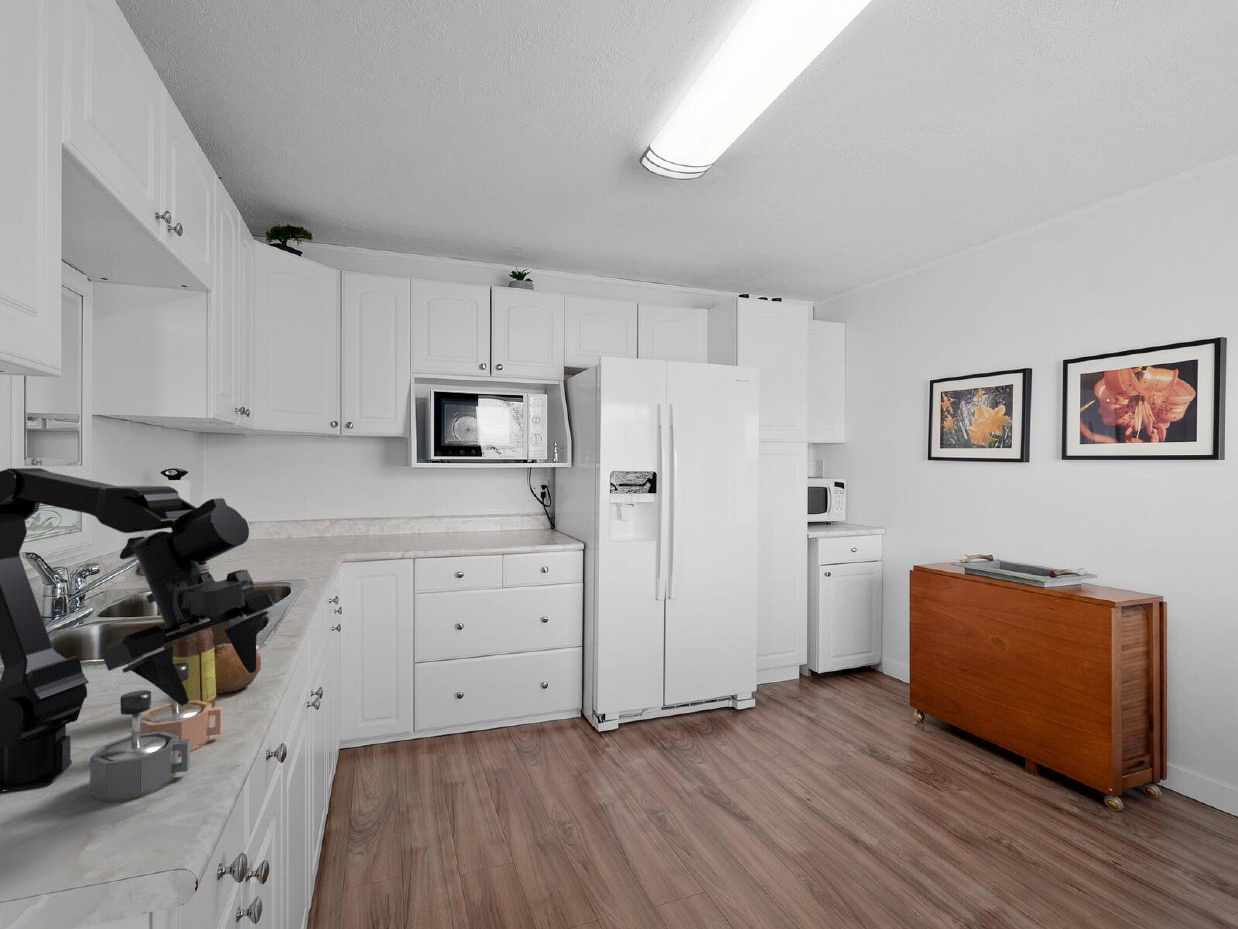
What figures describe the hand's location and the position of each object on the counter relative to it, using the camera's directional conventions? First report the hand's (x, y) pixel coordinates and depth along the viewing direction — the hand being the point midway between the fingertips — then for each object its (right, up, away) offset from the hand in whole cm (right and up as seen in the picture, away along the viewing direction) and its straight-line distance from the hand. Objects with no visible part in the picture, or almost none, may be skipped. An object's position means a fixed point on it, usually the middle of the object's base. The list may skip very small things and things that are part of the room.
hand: (221, 687), depth 80 cm
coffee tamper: (-13, -9, +2) cm, 16 cm away
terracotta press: (-16, -14, +13) cm, 25 cm away
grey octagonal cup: (-13, -14, +2) cm, 19 cm away
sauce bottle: (-22, -14, +26) cm, 37 cm away
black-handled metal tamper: (-15, -9, +13) cm, 22 cm away
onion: (-21, -14, +36) cm, 44 cm away
